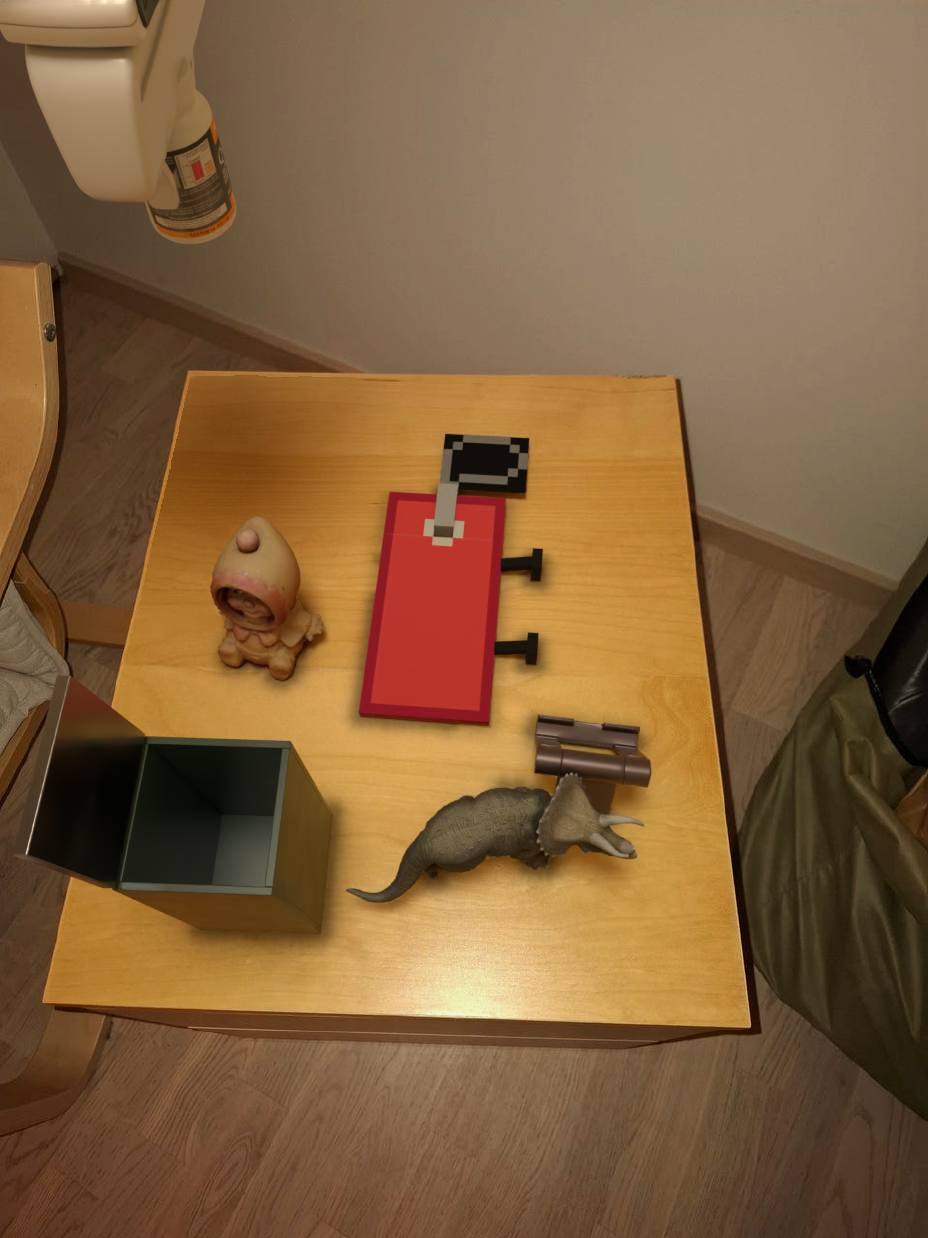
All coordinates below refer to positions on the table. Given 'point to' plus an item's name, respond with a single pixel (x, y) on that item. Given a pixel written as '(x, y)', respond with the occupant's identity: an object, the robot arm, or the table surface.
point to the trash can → (227, 836)
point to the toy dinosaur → (507, 833)
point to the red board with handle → (446, 589)
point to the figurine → (261, 600)
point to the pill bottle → (196, 172)
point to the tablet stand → (591, 756)
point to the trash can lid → (80, 787)
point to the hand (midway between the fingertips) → (177, 161)
